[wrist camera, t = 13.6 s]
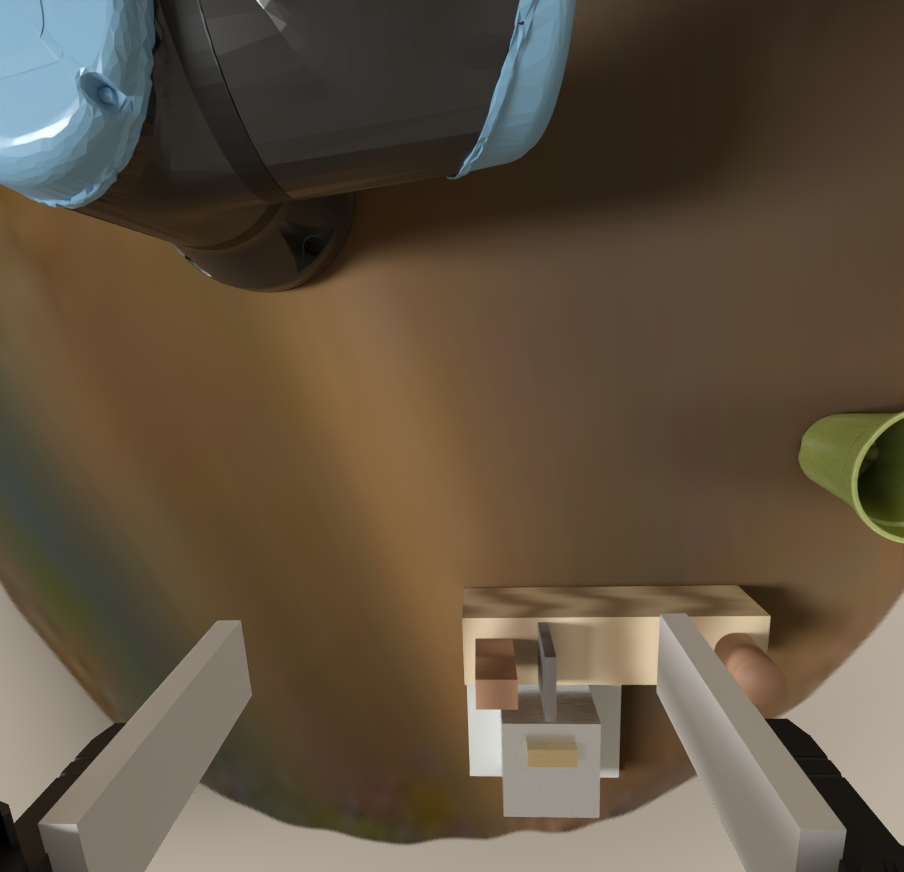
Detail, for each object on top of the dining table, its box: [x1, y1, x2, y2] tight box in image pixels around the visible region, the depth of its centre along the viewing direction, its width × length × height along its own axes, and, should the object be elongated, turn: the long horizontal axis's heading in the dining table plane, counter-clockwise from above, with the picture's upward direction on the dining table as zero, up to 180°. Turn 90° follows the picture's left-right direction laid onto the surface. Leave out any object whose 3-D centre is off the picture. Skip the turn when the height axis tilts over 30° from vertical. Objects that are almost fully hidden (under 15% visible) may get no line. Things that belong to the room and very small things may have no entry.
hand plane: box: [462, 585, 787, 722], centre depth 40 cm, size 24×6×10 cm, turn 92°
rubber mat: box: [467, 685, 621, 777], centre depth 46 cm, size 14×11×1 cm
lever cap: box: [500, 685, 601, 818], centre depth 43 cm, size 9×8×6 cm
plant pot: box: [798, 411, 904, 543], centre depth 36 cm, size 9×9×9 cm
